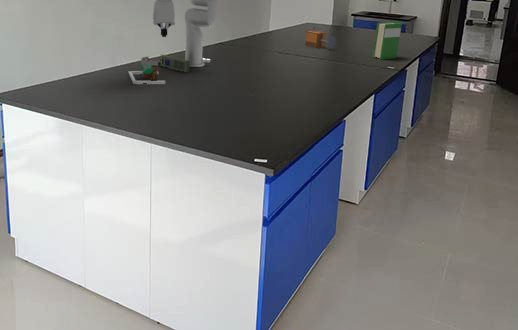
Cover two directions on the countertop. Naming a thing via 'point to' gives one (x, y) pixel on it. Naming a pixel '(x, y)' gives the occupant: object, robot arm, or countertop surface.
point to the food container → (149, 68)
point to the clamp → (318, 39)
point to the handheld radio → (174, 63)
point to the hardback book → (387, 40)
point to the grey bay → (143, 81)
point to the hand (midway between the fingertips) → (164, 36)
